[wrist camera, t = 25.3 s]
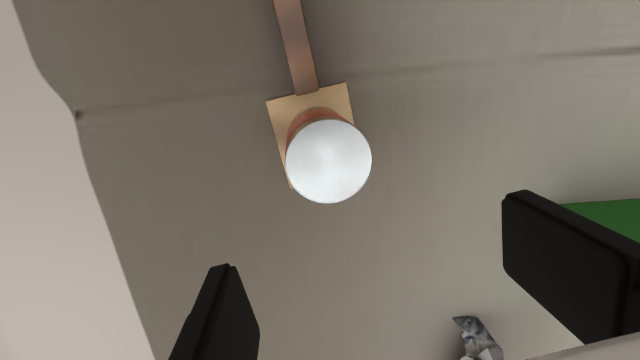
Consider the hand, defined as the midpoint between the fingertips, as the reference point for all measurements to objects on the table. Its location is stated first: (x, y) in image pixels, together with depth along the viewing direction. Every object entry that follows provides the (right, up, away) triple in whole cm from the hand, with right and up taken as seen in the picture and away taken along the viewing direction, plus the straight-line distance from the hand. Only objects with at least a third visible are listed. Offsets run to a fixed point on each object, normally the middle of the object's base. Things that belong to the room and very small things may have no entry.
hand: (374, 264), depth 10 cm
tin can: (-2, +8, +22) cm, 24 cm away
